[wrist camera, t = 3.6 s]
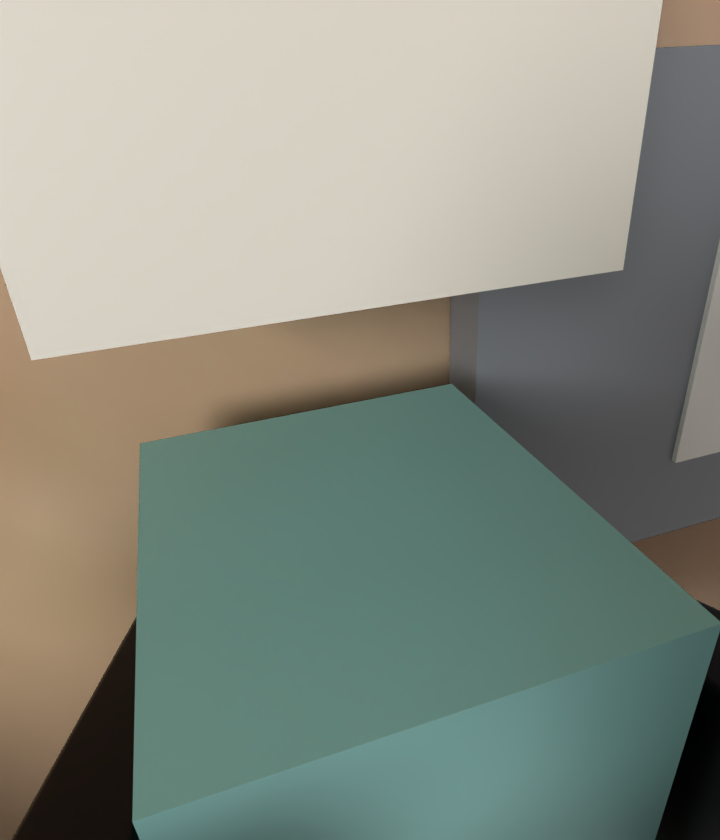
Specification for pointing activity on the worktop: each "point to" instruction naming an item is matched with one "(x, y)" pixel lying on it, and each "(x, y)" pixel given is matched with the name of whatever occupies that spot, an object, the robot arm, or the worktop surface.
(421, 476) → the teal block
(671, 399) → the slate plate
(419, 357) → the worktop surface
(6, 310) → the worktop surface
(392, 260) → the cream block
